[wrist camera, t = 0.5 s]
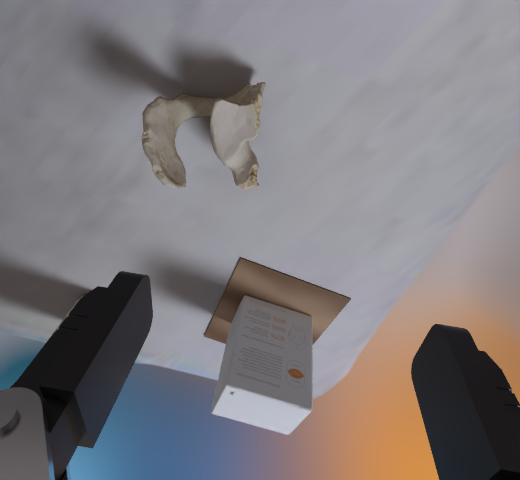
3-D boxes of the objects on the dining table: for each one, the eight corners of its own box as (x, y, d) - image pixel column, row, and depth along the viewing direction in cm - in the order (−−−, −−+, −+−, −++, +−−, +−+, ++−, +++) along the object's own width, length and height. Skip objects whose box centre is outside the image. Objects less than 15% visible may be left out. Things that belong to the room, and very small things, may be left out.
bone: (321, 125, 24) (242, 232, 20) (270, 157, 29) (200, 246, 25) (231, 19, 21) (118, 115, 17) (194, 75, 27) (101, 159, 23)
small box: (230, 323, 41) (207, 414, 32) (244, 292, 37) (223, 385, 29) (294, 343, 41) (288, 437, 33) (314, 315, 38) (313, 412, 30)
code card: (240, 257, 34) (240, 258, 34) (350, 298, 36) (350, 299, 36) (204, 335, 43) (204, 336, 43) (294, 366, 44) (294, 367, 44)
